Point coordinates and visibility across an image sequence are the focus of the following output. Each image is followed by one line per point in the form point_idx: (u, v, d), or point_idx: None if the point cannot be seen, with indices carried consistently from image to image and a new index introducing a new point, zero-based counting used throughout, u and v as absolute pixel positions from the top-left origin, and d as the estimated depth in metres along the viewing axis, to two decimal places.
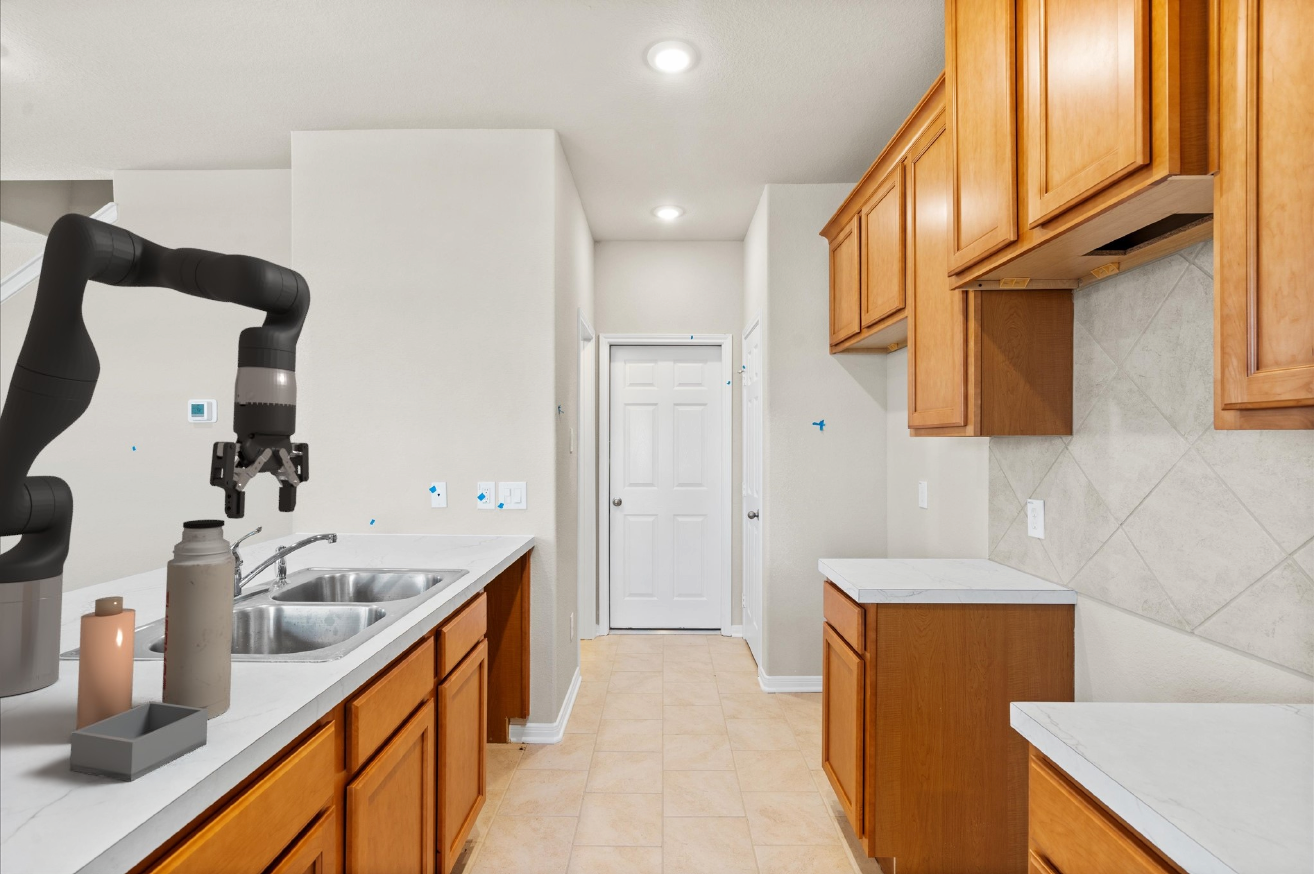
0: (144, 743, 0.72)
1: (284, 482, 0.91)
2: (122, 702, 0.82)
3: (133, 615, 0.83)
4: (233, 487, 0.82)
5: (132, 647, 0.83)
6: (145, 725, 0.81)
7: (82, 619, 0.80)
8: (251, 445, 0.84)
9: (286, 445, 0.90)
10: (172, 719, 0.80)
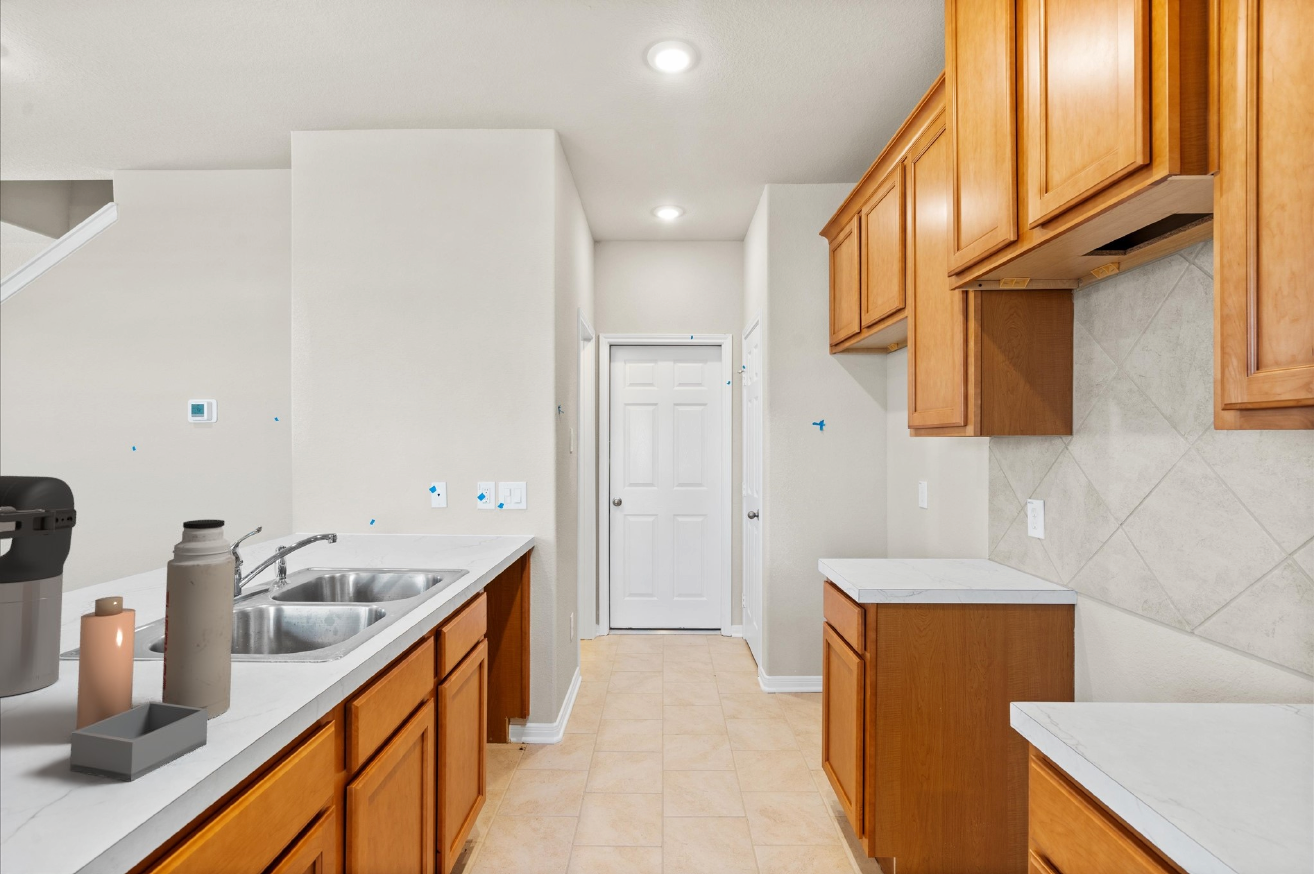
0: (144, 743, 0.72)
1: None
2: (122, 702, 0.82)
3: (133, 615, 0.83)
4: None
5: (132, 647, 0.83)
6: (145, 725, 0.81)
7: (82, 619, 0.80)
8: None
9: None
10: (172, 719, 0.80)
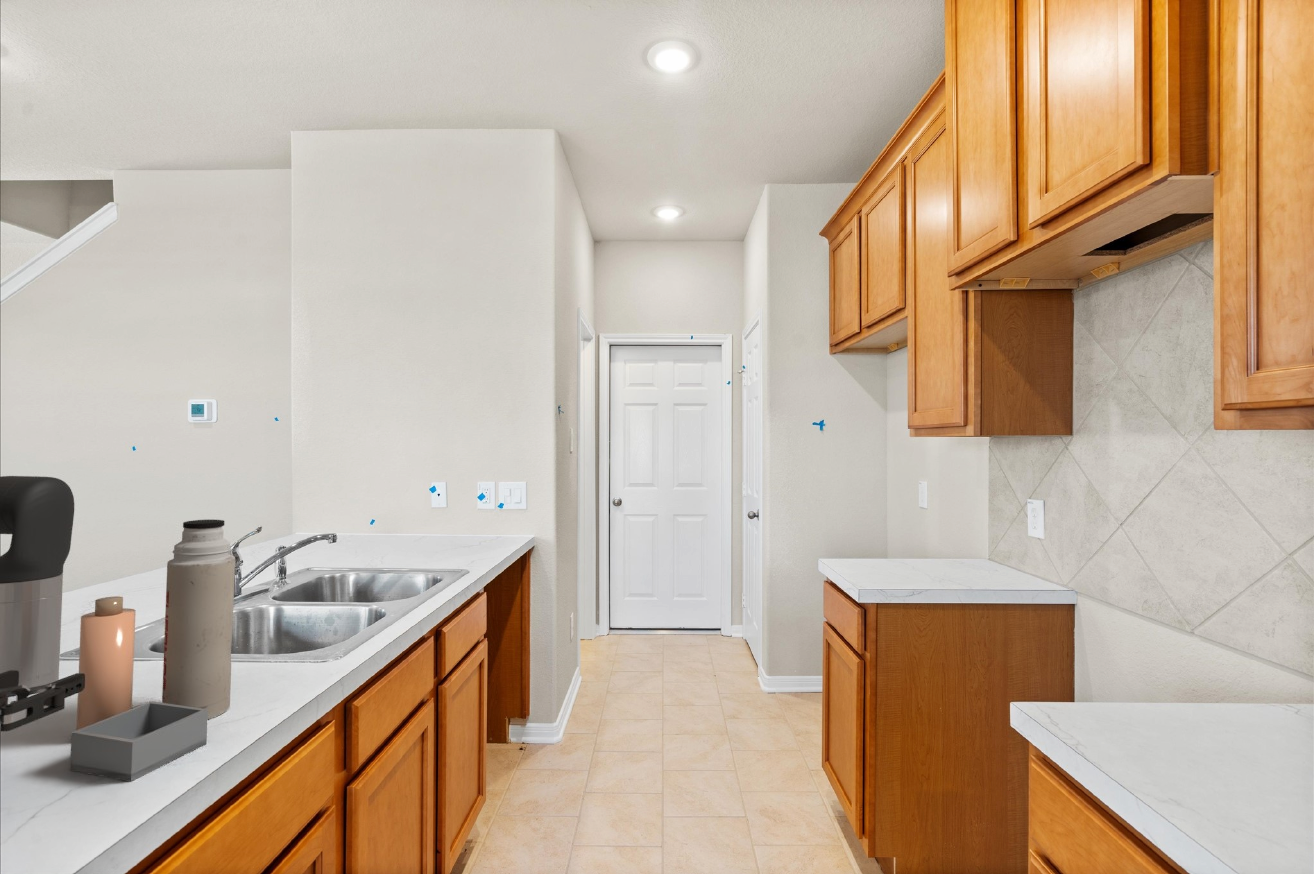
0: (144, 743, 0.72)
1: None
2: (122, 702, 0.82)
3: (133, 615, 0.83)
4: None
5: (132, 647, 0.83)
6: (145, 725, 0.81)
7: (82, 619, 0.80)
8: None
9: None
10: (172, 719, 0.80)
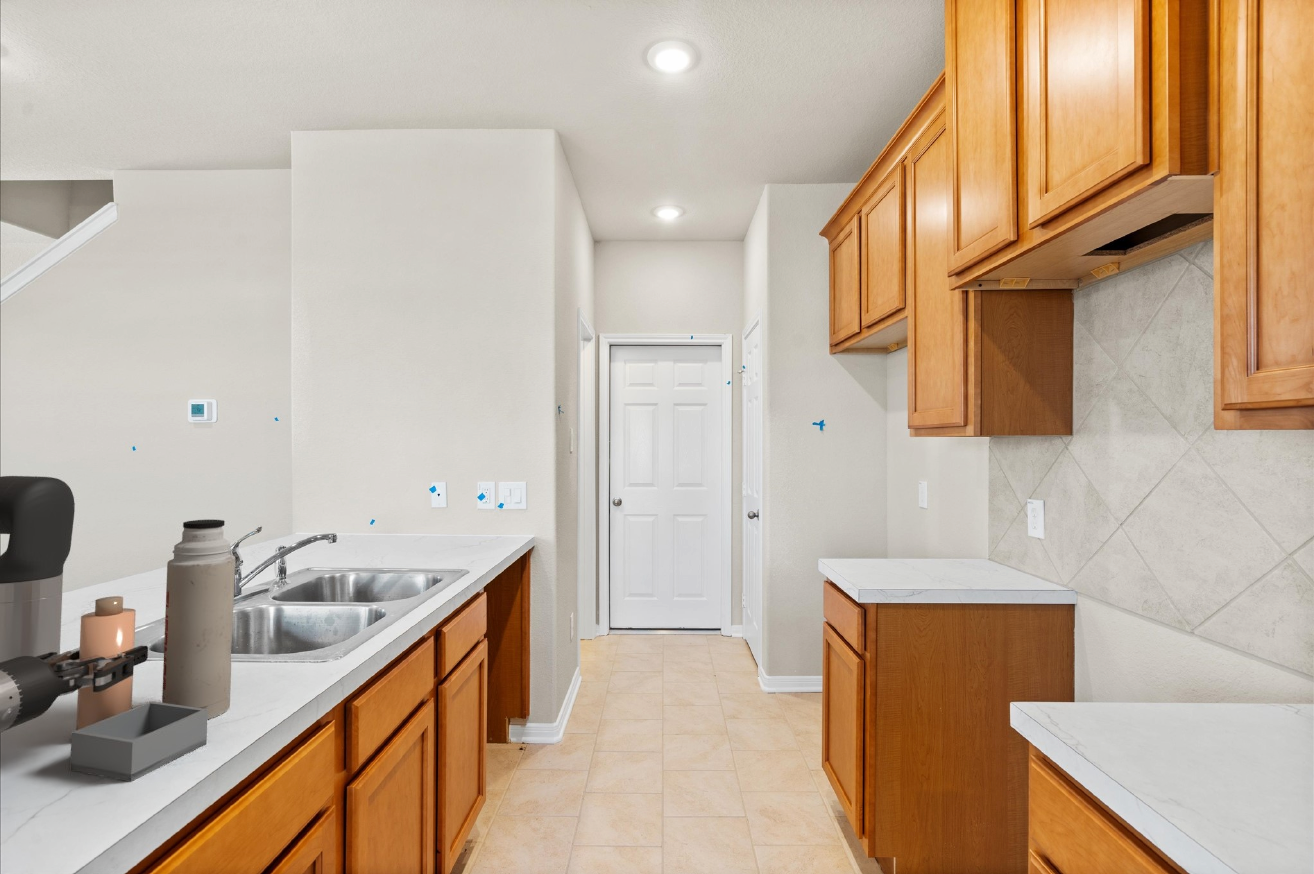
0: (144, 743, 0.72)
1: None
2: (122, 701, 0.82)
3: (133, 615, 0.83)
4: None
5: (132, 647, 0.83)
6: (145, 725, 0.81)
7: (82, 619, 0.80)
8: None
9: None
10: (172, 719, 0.80)
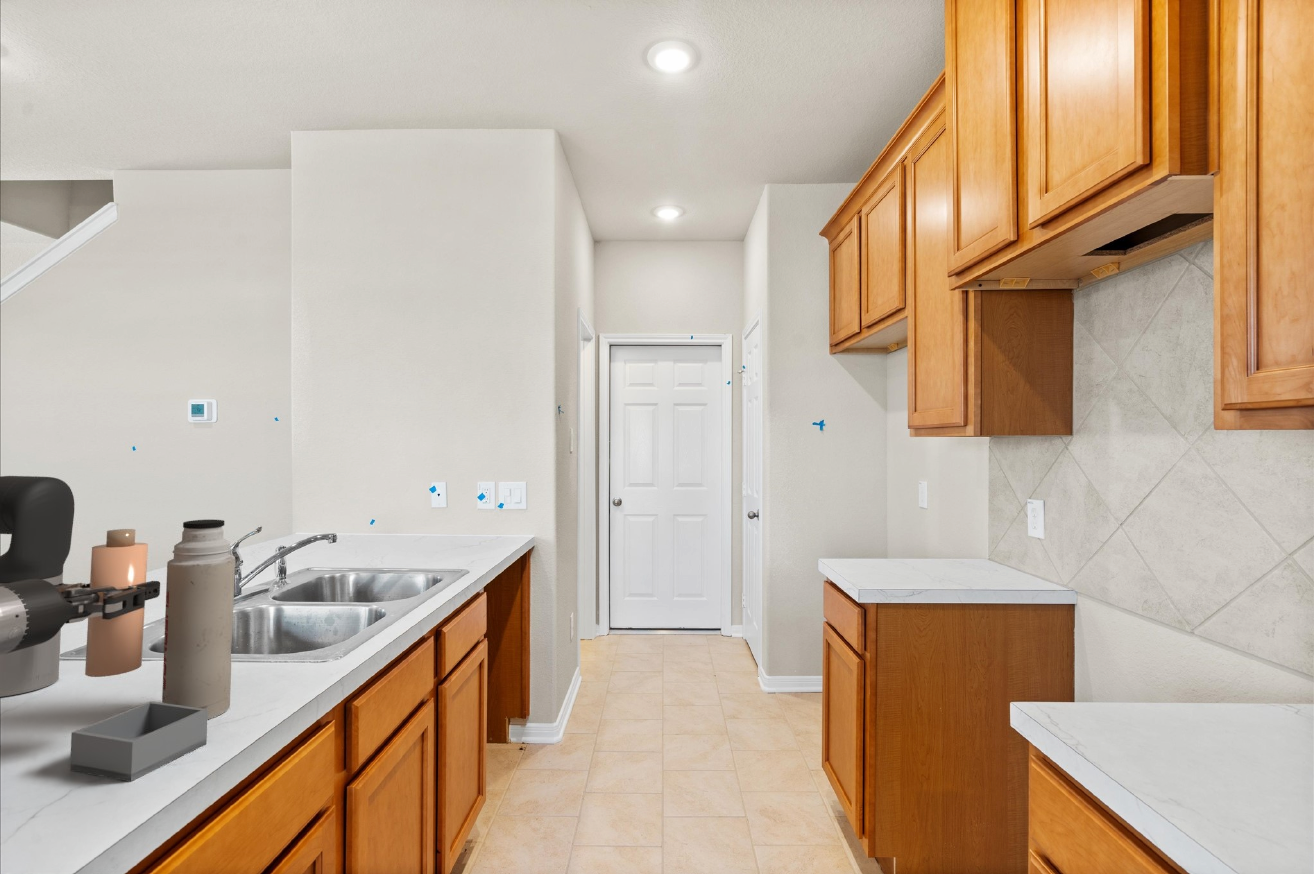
0: (144, 743, 0.72)
1: None
2: (133, 636, 0.79)
3: (145, 548, 0.80)
4: None
5: (144, 581, 0.80)
6: (145, 725, 0.81)
7: (93, 549, 0.77)
8: None
9: None
10: (172, 719, 0.80)
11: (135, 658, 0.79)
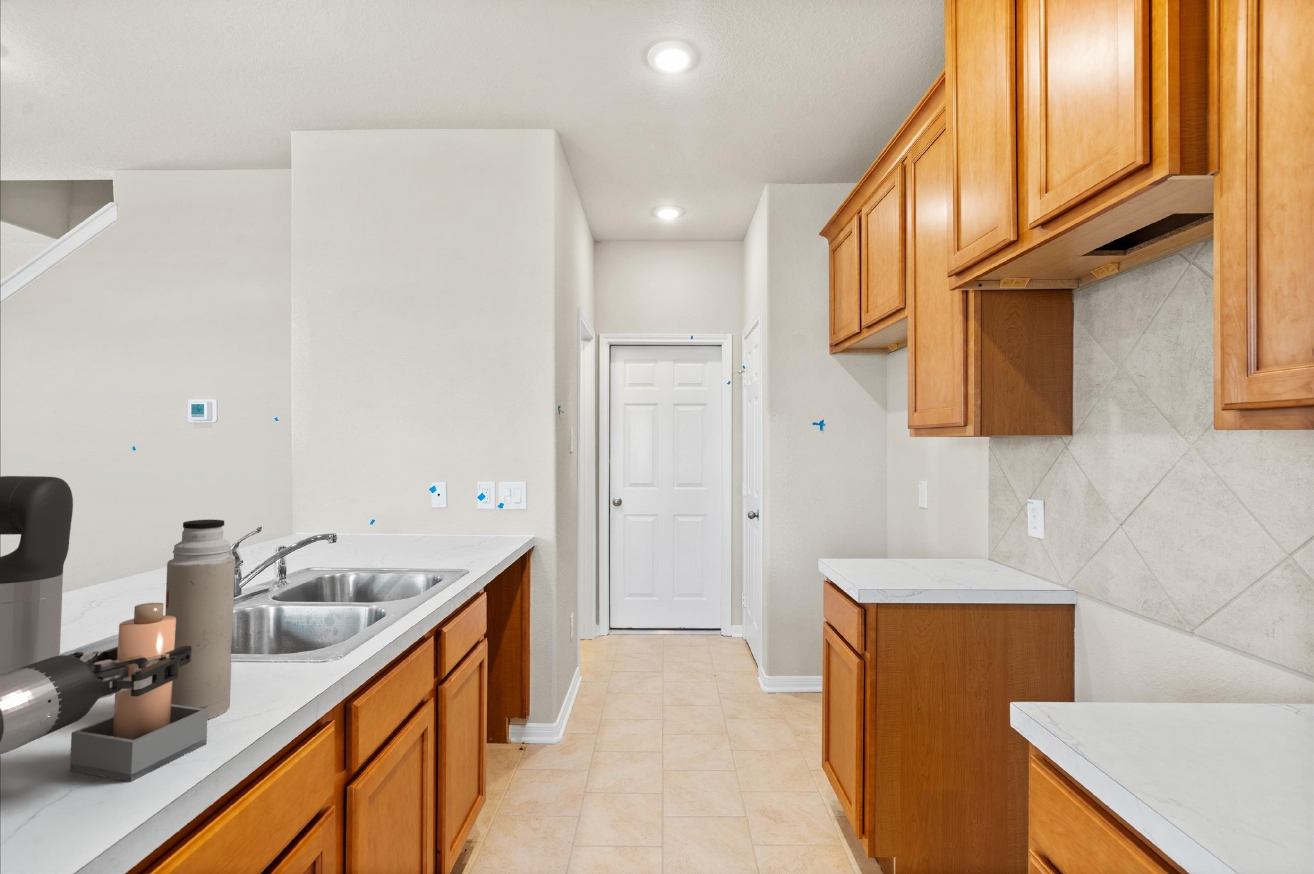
0: (144, 743, 0.72)
1: None
2: (161, 716, 0.76)
3: (174, 623, 0.77)
4: None
5: None
6: None
7: (121, 627, 0.74)
8: None
9: None
10: (172, 719, 0.80)
11: None
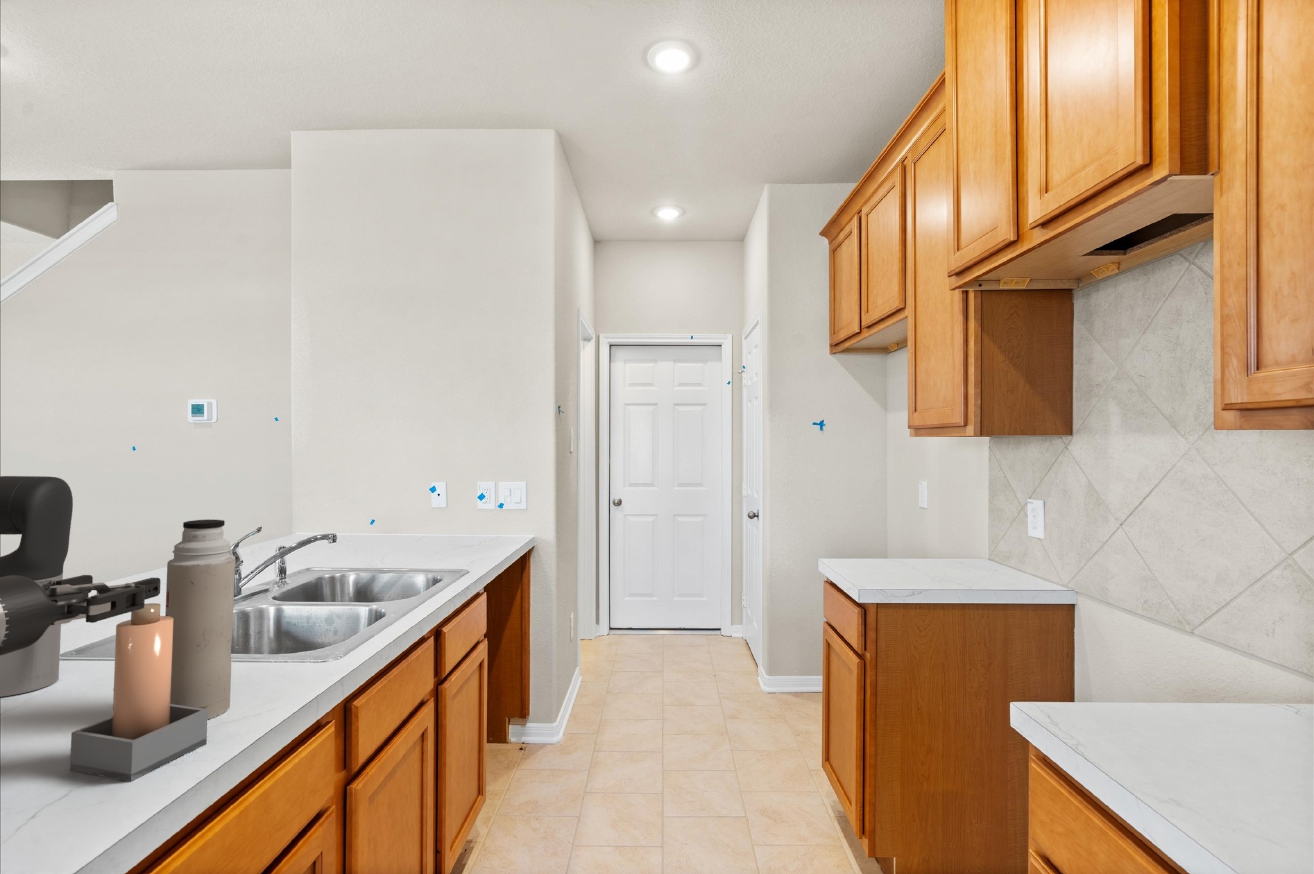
0: (144, 743, 0.72)
1: None
2: (161, 717, 0.76)
3: (171, 623, 0.77)
4: None
5: (170, 658, 0.77)
6: None
7: (118, 628, 0.74)
8: None
9: None
10: (172, 719, 0.80)
11: None
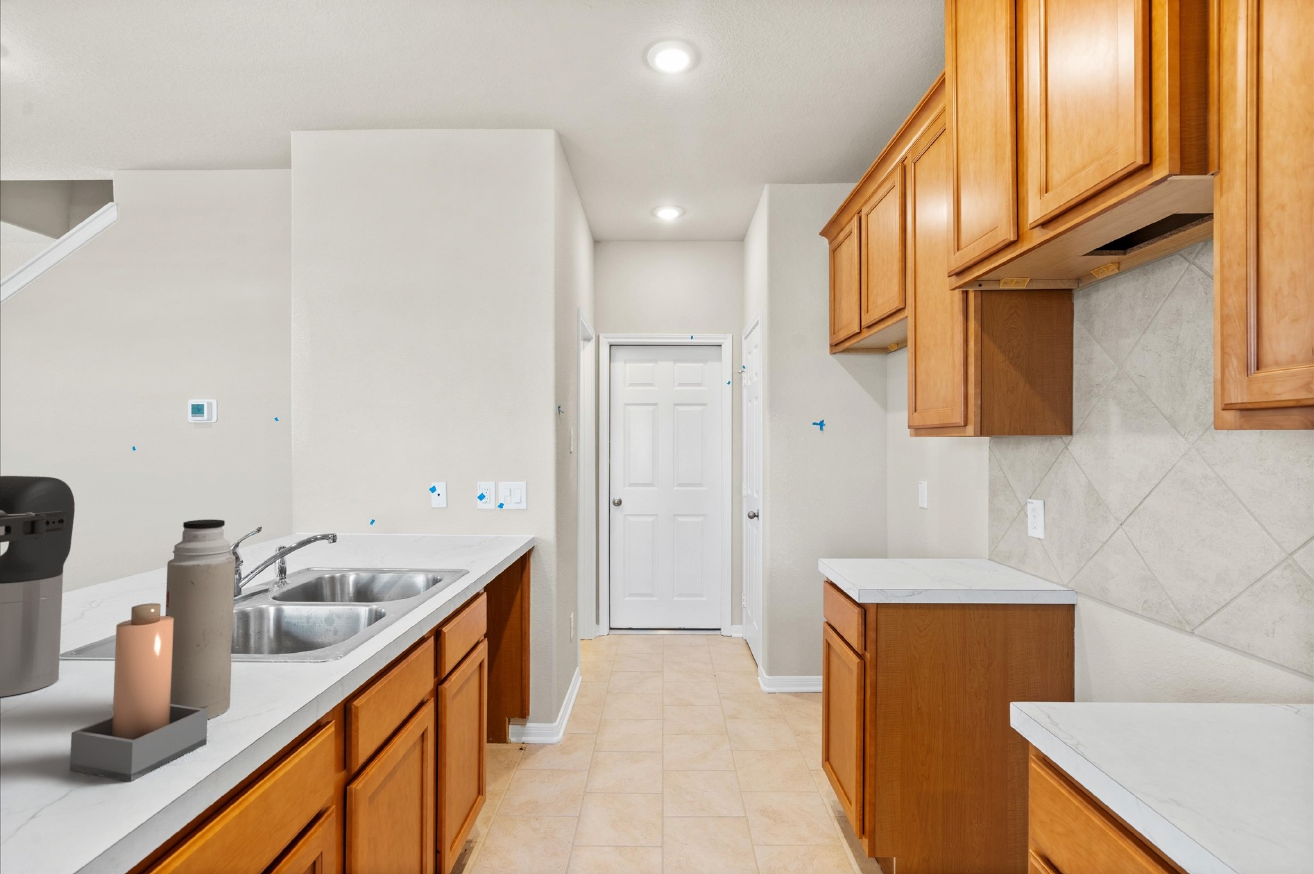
0: (144, 743, 0.72)
1: None
2: (161, 717, 0.76)
3: (171, 623, 0.77)
4: None
5: (170, 658, 0.77)
6: None
7: (118, 628, 0.74)
8: None
9: None
10: (172, 719, 0.80)
11: None
